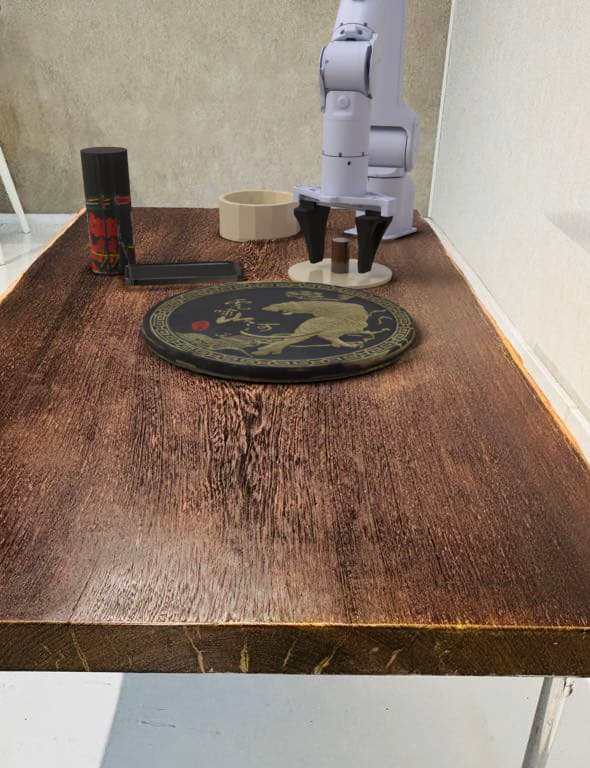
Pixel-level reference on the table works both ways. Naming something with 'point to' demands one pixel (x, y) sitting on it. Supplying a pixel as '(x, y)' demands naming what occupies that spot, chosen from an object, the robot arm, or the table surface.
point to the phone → (182, 273)
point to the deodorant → (108, 208)
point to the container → (257, 215)
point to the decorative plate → (278, 331)
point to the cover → (340, 270)
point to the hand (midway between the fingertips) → (340, 266)
